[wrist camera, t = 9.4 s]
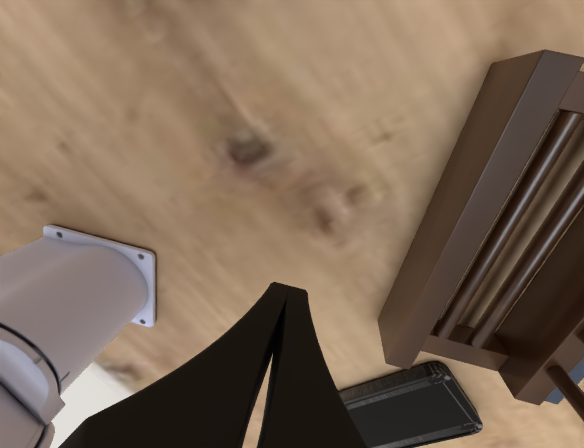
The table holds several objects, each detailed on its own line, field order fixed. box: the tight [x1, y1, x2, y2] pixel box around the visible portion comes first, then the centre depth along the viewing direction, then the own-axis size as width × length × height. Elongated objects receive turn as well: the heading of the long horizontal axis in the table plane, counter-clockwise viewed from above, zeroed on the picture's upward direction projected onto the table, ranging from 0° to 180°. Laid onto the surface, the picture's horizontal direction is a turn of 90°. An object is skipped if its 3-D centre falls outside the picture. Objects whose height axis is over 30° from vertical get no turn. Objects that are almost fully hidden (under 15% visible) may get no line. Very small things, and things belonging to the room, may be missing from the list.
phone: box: [339, 362, 483, 448], centre depth 25 cm, size 8×1×15 cm
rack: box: [378, 50, 584, 421], centre depth 15 cm, size 10×18×7 cm, turn 168°
